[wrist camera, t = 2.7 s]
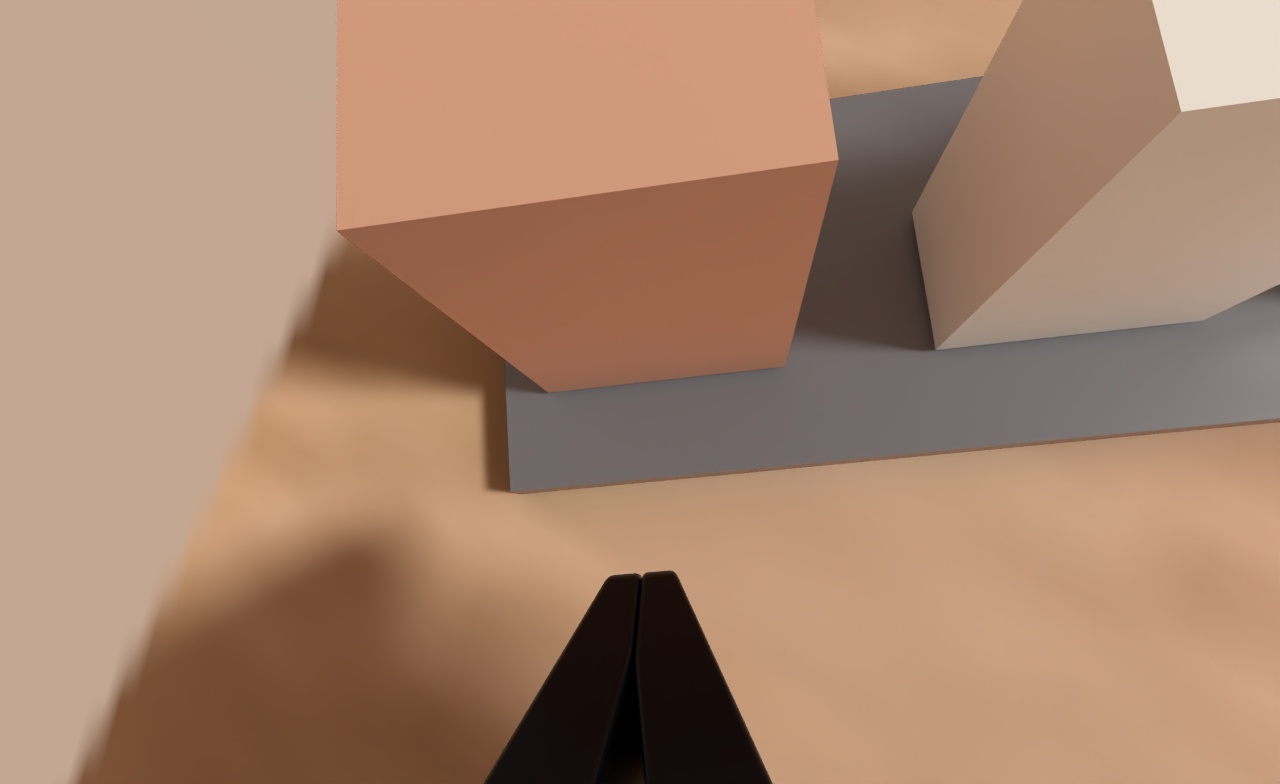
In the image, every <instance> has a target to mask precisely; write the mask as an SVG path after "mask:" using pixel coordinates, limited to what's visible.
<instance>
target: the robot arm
mask: <svg viewBox="0 0 1280 784" xmlns="http://www.w3.org/2000/svg"><path fill="white" fill-rule="evenodd" d="M484 784H773V783H772V781H771V779H770V777H769V775H768V772H767V770H766V768H765V766H764V764H763V761H762V759H761V757H760V755H759V753H758V751H757V748H756V746H755V744H754V742H753V740H752V737H751V735H750V733H749V731H748V729H747V727H746V724H745V722H744V720H743V718H742V716H741V713H740V711H739V709H738V707H737V705H736V703H735V700H734V698H733V696H732V694H731V692H730V689H729V687H728V685H727V683H726V681H725V678H724V676H723V674H722V672H721V670H720V668H719V665H718V663H717V661H716V659H715V657H714V654H713V652H712V650H711V648H710V646H709V644H708V641H707V639H706V637H705V635H704V633H703V630H702V628H701V626H700V624H699V622H698V620H697V617H696V615H695V613H694V611H693V609H692V606H691V604H690V602H689V600H688V598H687V596H686V593H685V591H684V589H683V587H682V585H681V582H680V580H679V578H678V576H677V574H676V573H675V572H674V571H659V572H648V573H645V574H644V575H643V577H641V575H639V574H636V573H635V574H622V575H613V576H610V577H608V578H607V579H606V581H605V582H604V584H603V586H602V587H601V589H600V590H599V592H598V594H597V595H596V597H595V599H594V600H593V602H592V604H591V605H590V607H589V609H588V610H587V612H586V614H585V615H584V617H583V619H582V620H581V622H580V624H579V625H578V627H577V629H576V630H575V632H574V634H573V635H572V637H571V639H570V640H569V642H568V644H567V645H566V647H565V649H564V650H563V652H562V654H561V655H560V657H559V659H558V660H557V662H556V664H555V665H554V667H553V669H552V670H551V672H550V674H549V675H548V677H547V679H546V680H545V682H544V684H543V685H542V687H541V689H540V690H539V692H538V694H537V695H536V697H535V699H534V700H533V702H532V704H531V705H530V707H529V709H528V710H527V712H526V714H525V715H524V717H523V719H522V720H521V722H520V724H519V725H518V727H517V729H516V730H515V732H514V734H513V735H512V737H511V739H510V740H509V742H508V744H507V745H506V747H505V749H504V750H503V752H502V754H501V755H500V757H499V759H498V760H497V762H496V764H495V765H494V767H493V769H492V770H491V772H490V774H489V775H488V777H487V779H486V780H485V782H484Z"/></svg>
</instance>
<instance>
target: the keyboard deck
mask: <svg viewBox="0 0 1280 784" xmlns="http://www.w3.org/2000/svg"><path fill="white" fill-rule="evenodd" d="M982 78H983V76H981V77H974V78H967V79H961V80H954V81H947V82H941V83H934V84H927V85H921V86H914V87H907V88H901V89H894V90H887V91H881V92H874V93H867V94H861V95H854V96H847V97H841V98H834V99H830V106H831V113H832V119H833V126H834V132H835V139H836V145H837V152H838V159H839V161H838V164H837V168H836V172H835V176H834V180H833V184H832V188H831V192H830V195H829V199H828V203H827V207H826V211H825V215H824V219H823V222H822V226H821V230H820V234H819V238H818V242H817V246H816V249H815V253H814V257H813V261H812V265H811V269H810V273H809V276H808V280H807V284H806V288H805V292H804V296H803V300H802V303H801V307H800V311H799V315H798V319H797V323H796V327H795V330H794V334H793V338H792V342H791V346H790V350H789V354H788V357H787V361H786V365H785V367H778V368H769V369H759V370H750V371H741V372H732V373H723V374H714V375H705V376H696V377H687V378H678V379H669V380H660V381H651V382H642V383H633V384H624V385H615V386H606V387H597V388H588V389H579V390H570V391H560V392H551V393H548V392H547V391H545V390H544V389H543V388H541V387H540V386H539V385H538V384H536V383H535V382H534V381H532V380H531V379H530V378H528V377H527V376H526V375H525V374H523V373H522V372H521V371H519V370H518V369H517V368H515V367H514V366H513V365H511V364H510V363H509V362H508V361H506V360H505V359H504V366H505V387H506V409H507V430H508V452H509V473H510V492H514V493H518V494H528V493H538V492H549V491H559V490H570V489H580V488H591V487H601V486H612V485H622V484H633V483H643V482H654V481H664V480H675V479H685V478H696V477H706V476H717V475H727V474H738V473H748V472H759V471H770V470H780V469H791V468H801V467H812V466H822V465H833V464H843V463H854V462H864V461H875V460H885V459H896V458H906V457H917V456H927V455H938V454H948V453H959V452H969V451H980V450H990V449H1001V448H1011V447H1022V446H1032V445H1043V444H1054V443H1064V442H1075V441H1085V440H1096V439H1106V438H1117V437H1127V436H1138V435H1148V434H1159V433H1169V432H1180V431H1190V430H1201V429H1211V428H1222V427H1232V426H1243V425H1253V424H1264V423H1274V422H1280V284H1279V285H1277V286H1275V287H1272V288H1270V289H1268V290H1266V291H1264V292H1262V293H1260V294H1258V295H1256V296H1253V297H1251V298H1249V299H1247V300H1245V301H1243V302H1241V303H1239V304H1237V305H1234V306H1232V307H1230V308H1228V309H1226V310H1224V311H1222V312H1220V313H1218V314H1215V315H1213V316H1211V317H1209V318H1207V319H1205V320H1203V321H1194V322H1185V323H1176V324H1167V325H1158V326H1149V327H1140V328H1131V329H1122V330H1113V331H1104V332H1095V333H1086V334H1077V335H1068V336H1059V337H1050V338H1041V339H1032V340H1023V341H1014V342H1004V343H995V344H986V345H977V346H968V347H959V348H950V349H941V350H936V349H935V343H934V337H933V331H932V326H931V320H930V314H929V308H928V302H927V297H926V291H925V285H924V279H923V273H922V268H921V262H920V256H919V250H918V244H917V238H916V233H915V227H914V221H913V215H912V211H913V209H914V207H915V206H916V204H917V202H918V200H919V198H920V196H921V194H922V192H923V190H924V188H925V186H926V185H927V183H928V181H929V179H930V177H931V175H932V173H933V171H934V169H935V167H936V165H937V164H938V162H939V160H940V158H941V156H942V154H943V152H944V150H945V148H946V146H947V144H948V143H949V141H950V139H951V137H952V135H953V133H954V131H955V129H956V127H957V125H958V124H959V122H960V120H961V118H962V116H963V114H964V112H965V110H966V108H967V106H968V104H969V103H970V101H971V99H972V97H973V95H974V93H975V91H976V89H977V87H978V85H979V83H980V82H981V80H982Z"/></svg>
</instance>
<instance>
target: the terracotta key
mask: <svg viewBox="0 0 1280 784" xmlns="http://www.w3.org/2000/svg"><path fill="white" fill-rule="evenodd" d="M838 161H839V159H838V152H837V145H836V139H835V132H834V126H833V119H832V113H831V106H830V99H829V93H828V86H827V80H826V73H825V67H824V60H823V53H822V47H821V40H820V34H819V27H818V21H817V14H816V7H815V1H814V0H337V184H336V185H337V186H336V187H337V188H336V189H337V192H336V194H337V195H336V196H337V197H336V199H337V200H336V231H338V232H339V233H340V234H341V235H343V236H344V237H345V238H347V239H348V240H349V241H351V242H352V243H353V244H355V245H356V246H357V247H358V248H360V249H361V250H362V251H364V252H365V253H366V254H368V255H369V256H370V257H372V258H373V259H374V260H375V261H377V262H378V263H379V264H381V265H382V266H383V267H385V268H386V269H387V270H389V271H390V272H391V273H392V274H394V275H395V276H396V277H398V278H399V279H400V280H402V281H403V282H404V283H406V284H407V285H408V286H409V287H411V288H412V289H413V290H415V291H416V292H417V293H419V294H420V295H421V296H423V297H424V298H425V299H426V300H428V301H429V302H430V303H432V304H433V305H434V306H436V307H437V308H438V309H440V310H441V311H442V312H443V313H445V314H446V315H447V316H449V317H450V318H451V319H453V320H454V321H455V322H457V323H458V324H459V325H460V326H462V327H463V328H464V329H466V330H467V331H468V332H470V333H471V334H472V335H474V336H475V337H476V338H477V339H479V340H480V341H481V342H483V343H484V344H485V345H487V346H488V347H489V348H491V349H492V350H493V351H494V352H496V353H497V354H498V355H500V356H501V357H502V358H504V359H505V360H506V361H508V362H509V363H510V364H511V365H513V366H514V367H515V368H517V369H518V370H519V371H521V372H522V373H523V374H525V375H526V376H527V377H528V378H530V379H531V380H532V381H534V382H535V383H536V384H538V385H539V386H540V387H541V388H543V389H544V390H545V391H547V392H548V393H551V392H560V391H570V390H579V389H588V388H597V387H606V386H615V385H624V384H633V383H642V382H651V381H660V380H669V379H678V378H687V377H696V376H705V375H714V374H723V373H732V372H741V371H750V370H759V369H769V368H778V367H785V365H786V361H787V357H788V354H789V350H790V346H791V342H792V338H793V334H794V330H795V327H796V323H797V319H798V315H799V311H800V307H801V303H802V300H803V296H804V292H805V288H806V284H807V280H808V276H809V273H810V269H811V265H812V261H813V257H814V253H815V249H816V246H817V242H818V238H819V234H820V230H821V226H822V222H823V219H824V215H825V211H826V207H827V203H828V199H829V195H830V192H831V188H832V184H833V180H834V176H835V172H836V168H837V164H838Z"/></svg>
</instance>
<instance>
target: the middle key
mask: <svg viewBox="0 0 1280 784" xmlns="http://www.w3.org/2000/svg"><path fill="white" fill-rule="evenodd" d="M912 215H913V221H914V227H915V233H916V238H917V244H918V250H919V256H920V262H921V268H922V273H923V279H924V285H925V291H926V297H927V302H928V308H929V314H930V320H931V326H932V331H933V337H934V343H935V349H936V350H941V349H950V348H959V347H968V346H977V345H986V344H995V343H1004V342H1014V341H1023V340H1032V339H1041V338H1050V337H1059V336H1068V335H1077V334H1086V333H1095V332H1104V331H1113V330H1122V329H1131V328H1140V327H1149V326H1158V325H1167V324H1176V323H1185V322H1194V321H1203V320H1205V319H1207V318H1209V317H1211V316H1213V315H1215V314H1218V313H1220V312H1222V311H1224V310H1226V309H1228V308H1230V307H1232V306H1234V305H1237V304H1239V303H1241V302H1243V301H1245V300H1247V299H1249V298H1251V297H1253V296H1256V295H1258V294H1260V293H1262V292H1264V291H1266V290H1268V289H1270V288H1272V287H1275V286H1277V285H1279V284H1280V0H1023V1H1022V3H1021V5H1020V7H1019V9H1018V11H1017V13H1016V15H1015V17H1014V19H1013V21H1012V22H1011V24H1010V26H1009V28H1008V30H1007V32H1006V34H1005V36H1004V38H1003V40H1002V42H1001V43H1000V45H999V47H998V49H997V51H996V53H995V55H994V57H993V59H992V61H991V62H990V64H989V66H988V68H987V70H986V72H985V74H984V76H983V78H982V80H981V82H980V83H979V85H978V87H977V89H976V91H975V93H974V95H973V97H972V99H971V101H970V103H969V104H968V106H967V108H966V110H965V112H964V114H963V116H962V118H961V120H960V122H959V124H958V125H957V127H956V129H955V131H954V133H953V135H952V137H951V139H950V141H949V143H948V144H947V146H946V148H945V150H944V152H943V154H942V156H941V158H940V160H939V162H938V164H937V165H936V167H935V169H934V171H933V173H932V175H931V177H930V179H929V181H928V183H927V185H926V186H925V188H924V190H923V192H922V194H921V196H920V198H919V200H918V202H917V204H916V206H915V207H914V209H913V211H912Z"/></svg>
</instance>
